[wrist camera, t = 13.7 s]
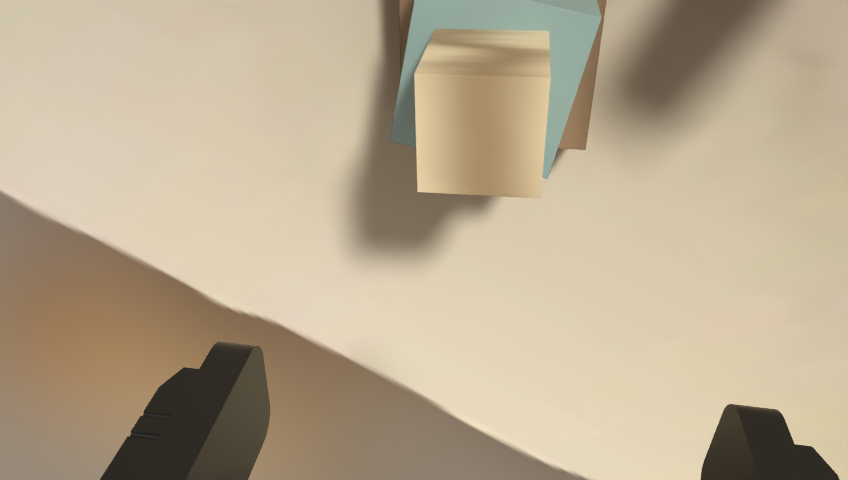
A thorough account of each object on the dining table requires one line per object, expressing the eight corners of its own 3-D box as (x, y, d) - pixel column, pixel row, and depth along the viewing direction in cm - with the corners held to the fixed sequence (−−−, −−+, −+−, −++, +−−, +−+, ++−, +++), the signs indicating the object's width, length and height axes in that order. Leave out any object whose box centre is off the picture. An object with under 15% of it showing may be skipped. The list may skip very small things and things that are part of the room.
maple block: (436, 132, 33) (417, 191, 28) (435, 28, 30) (414, 73, 25) (540, 137, 32) (540, 198, 27) (549, 30, 30) (550, 77, 25)
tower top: (403, 110, 37) (389, 141, 34) (431, -44, 33) (419, -26, 29) (546, 144, 37) (547, 179, 33) (595, -5, 32) (601, 17, 29)
